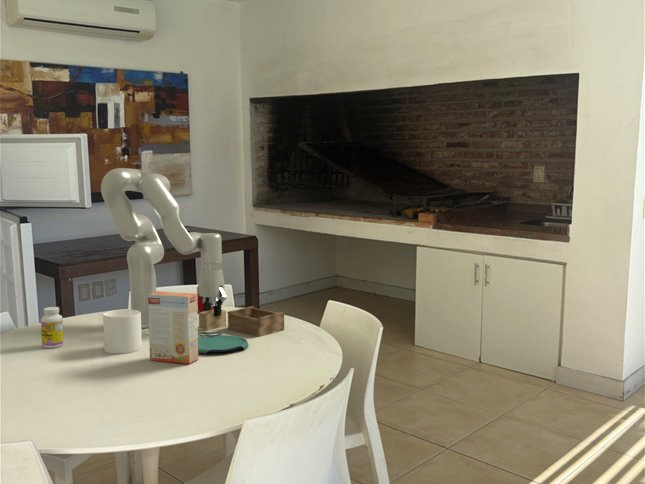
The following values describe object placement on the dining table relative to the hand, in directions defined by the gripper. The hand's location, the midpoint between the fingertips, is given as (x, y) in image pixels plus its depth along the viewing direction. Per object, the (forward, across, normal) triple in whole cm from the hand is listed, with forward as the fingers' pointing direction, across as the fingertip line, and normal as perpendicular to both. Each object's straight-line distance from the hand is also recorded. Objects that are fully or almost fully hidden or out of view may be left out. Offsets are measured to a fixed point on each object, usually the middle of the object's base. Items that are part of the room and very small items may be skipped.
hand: (212, 314), depth 233 cm
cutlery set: (+6, +17, -15) cm, 23 cm away
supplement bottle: (+5, -21, -51) cm, 55 cm away
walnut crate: (+5, +15, +8) cm, 18 cm away
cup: (+5, 0, -38) cm, 38 cm away
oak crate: (+5, 0, 0) cm, 5 cm away
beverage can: (+5, -23, +16) cm, 28 cm away
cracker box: (+5, +23, -35) cm, 42 cm away
